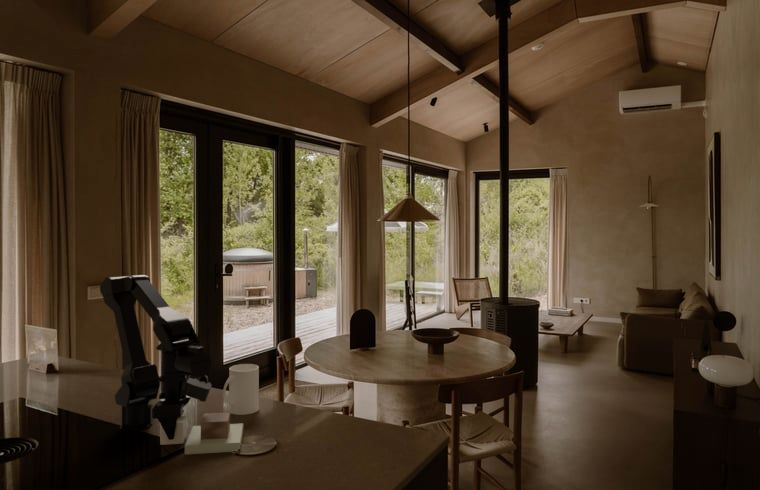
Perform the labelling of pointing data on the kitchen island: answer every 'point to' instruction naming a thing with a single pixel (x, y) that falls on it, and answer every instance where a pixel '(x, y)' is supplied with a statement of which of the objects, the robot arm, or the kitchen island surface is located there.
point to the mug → (243, 389)
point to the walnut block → (215, 425)
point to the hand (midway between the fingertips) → (173, 434)
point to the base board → (214, 441)
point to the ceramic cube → (179, 433)
